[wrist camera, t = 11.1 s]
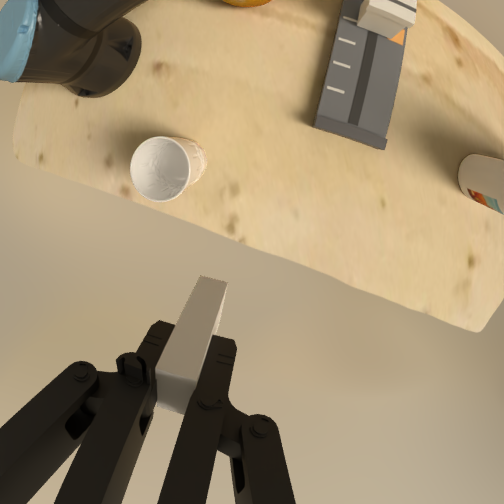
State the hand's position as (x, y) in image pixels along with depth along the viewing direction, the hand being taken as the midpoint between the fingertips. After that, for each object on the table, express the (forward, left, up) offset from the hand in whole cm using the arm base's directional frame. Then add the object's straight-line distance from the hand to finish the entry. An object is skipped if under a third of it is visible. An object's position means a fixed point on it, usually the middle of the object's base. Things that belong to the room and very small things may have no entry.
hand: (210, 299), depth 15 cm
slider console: (-7, +25, -28) cm, 38 cm away
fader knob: (-12, +30, -26) cm, 41 cm away
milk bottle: (+17, +33, -28) cm, 46 cm away
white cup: (-10, -5, -28) cm, 31 cm away
